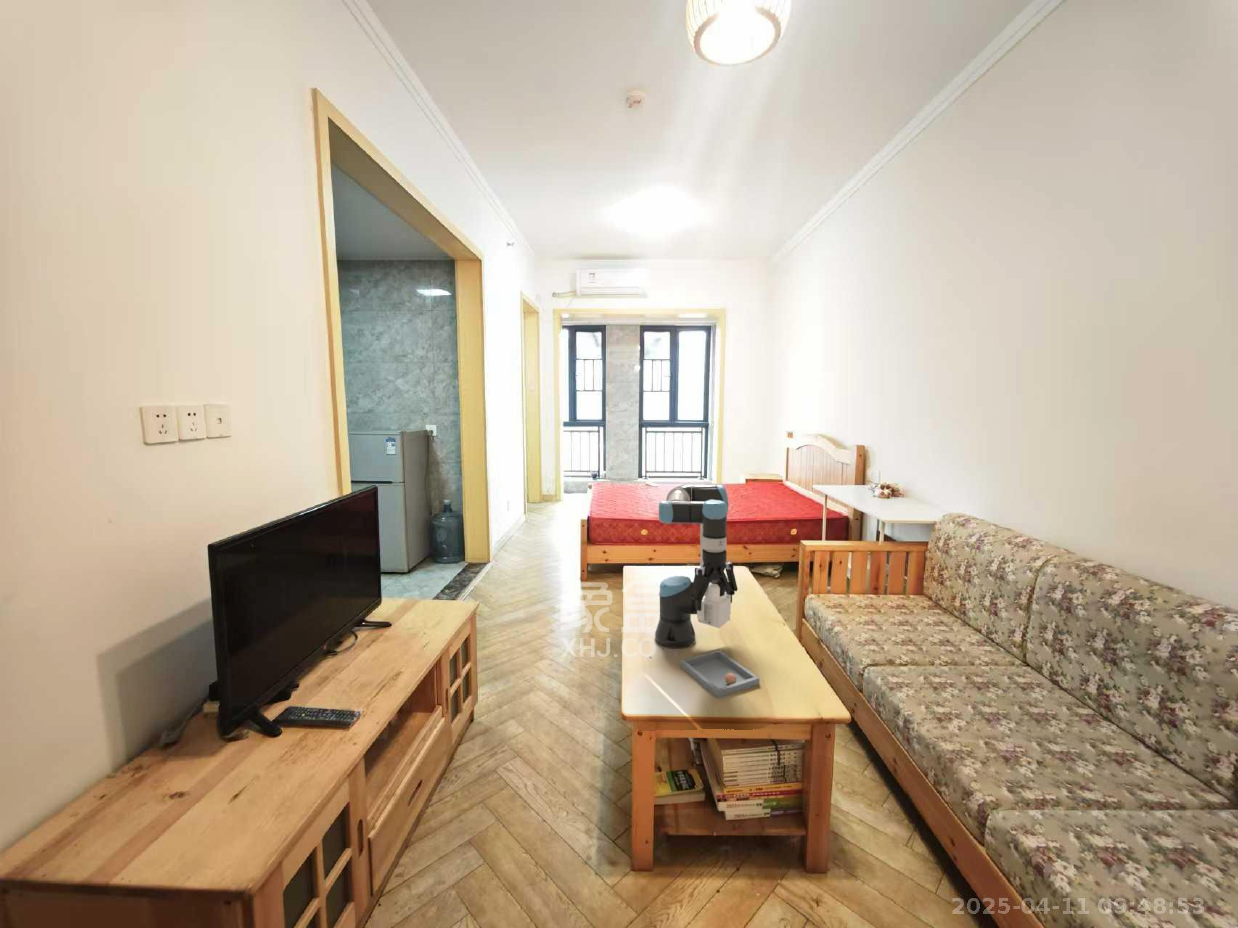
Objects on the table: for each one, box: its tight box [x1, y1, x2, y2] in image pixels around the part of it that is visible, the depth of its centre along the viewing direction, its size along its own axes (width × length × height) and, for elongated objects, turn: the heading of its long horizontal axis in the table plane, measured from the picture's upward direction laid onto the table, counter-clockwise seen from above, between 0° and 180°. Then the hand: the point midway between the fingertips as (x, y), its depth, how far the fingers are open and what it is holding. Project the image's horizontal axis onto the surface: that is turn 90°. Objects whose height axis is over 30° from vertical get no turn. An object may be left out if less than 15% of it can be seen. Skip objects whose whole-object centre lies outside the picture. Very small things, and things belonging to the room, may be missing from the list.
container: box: [697, 580, 731, 629], centre depth 153 cm, size 8×8×13 cm
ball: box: [725, 673, 736, 685], centre depth 148 cm, size 4×4×4 cm
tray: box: [680, 649, 760, 699], centre depth 153 cm, size 20×16×3 cm
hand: (714, 616), depth 154 cm, fingers closed on container, 10 cm apart
